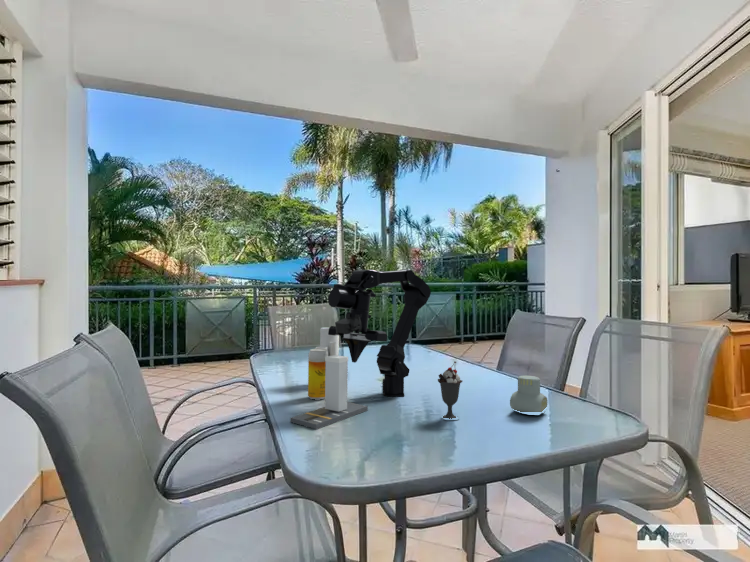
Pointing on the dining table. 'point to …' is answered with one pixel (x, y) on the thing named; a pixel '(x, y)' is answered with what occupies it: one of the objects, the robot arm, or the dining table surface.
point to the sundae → (449, 389)
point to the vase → (328, 342)
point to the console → (327, 416)
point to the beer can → (316, 373)
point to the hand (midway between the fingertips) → (354, 362)
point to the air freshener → (528, 395)
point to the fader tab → (336, 382)
